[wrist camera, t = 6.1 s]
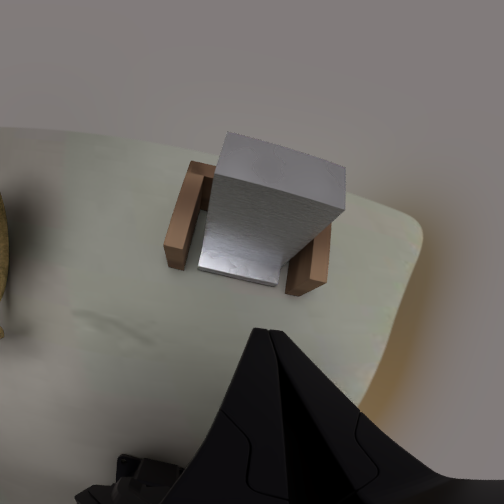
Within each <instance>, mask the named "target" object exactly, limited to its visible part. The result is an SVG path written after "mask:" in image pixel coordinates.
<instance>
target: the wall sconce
mask: <svg viewBox="0 0 504 504" xmlns="http://www.w3.org/2000/svg"><path fill="white" fill-rule="evenodd" d="M8 266H9V238H8V226H7V218H6V212H5V208H4V203H3V200H2V196H1V193H0V301H1V299H2V296H3V294H4V290H5V287H6V282H7V276H8ZM3 337H4V331H3V329H2V328H1V327H0V339H1V338H3Z"/></svg>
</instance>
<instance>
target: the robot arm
mask: <svg viewBox="0 0 504 504" xmlns="http://www.w3.org/2000/svg"><path fill="white" fill-rule="evenodd" d="M122 459H125V460H126V461H127V463H125V462H123V461H122ZM75 500H76V502H77V504H504V480H470V479H456V478H449V477H446V476H443V475H440V474H438V473H436V472H434V471H433V470H431V469H430V468H428V467H427V466H426V465H424V464H423V463H422V462H420V461H419V460H418V459H416V458H415V457H414V456H412V455H411V454H410V453H408V452H407V451H405V450H404V449H403V448H402V447H401V446H399V445H398V444H397V443H395V442H394V441H393V440H392V439H391V438H389V437H388V436H387V435H386V434H385V433H383V432H382V431H381V430H380V429H379V428H378V427H377V426H376V425H375V424H374V423H373V422H372V421H371V420H369V418H367V416H365V415H364V414H363V413H362V412H360V410H359V409H358V408H357V407H356V406H355V405H354V404H353V403H352V402H351V401H350V400H349V399H348V398H347V397H346V396H345V395H344V394H343V393H342V392H341V391H340V390H339V389H338V388H337V387H336V386H335V385H334V384H333V383H332V382H331V380H330V379H329V378H328V377H327V376H326V375H325V374H324V373H323V372H322V371H321V370H320V369H319V368H318V367H317V366H316V365H315V364H314V363H313V362H312V361H311V360H310V359H309V358H308V357H307V356H306V355H305V354H304V353H303V352H302V350H301V349H300V348H299V347H298V346H297V345H296V344H295V343H294V342H293V341H292V340H291V339H290V338H289V337H288V336H287V335H286V334H285V333H284V332H283V331H279V330H267V329H262V328H253V329H252V332H251V334H250V337H249V339H248V341H247V344H246V346H245V349H244V351H243V354H242V356H241V359H240V361H239V363H238V366H237V368H236V371H235V373H234V375H233V378H232V380H231V383H230V385H229V387H228V390H227V392H226V394H225V397H224V399H223V401H222V404H221V406H220V408H219V411H218V412H217V415H216V417H215V419H214V422H213V424H212V426H211V428H210V430H209V432H208V434H207V436H206V438H205V440H204V441H203V443H202V445H201V446H200V448H199V449H198V451H197V453H196V454H195V456H194V457H193V459H192V460H191V462H190V463H189V464H188V466H187V467H186V469H183V468H179V467H178V466H177V465H173V464H168V463H164V462H159V461H155V460H151V459H147V458H144V459H139V458H135V457H132V456H128V455H124V454H122V455H120V456H119V457H118V460H117V471H116V483H113V484H112V485H111V486H105V485H92V486H91V487H89V488H87V489H86V490H84V491H82V492H80V493H79V494H77V495H75Z"/></svg>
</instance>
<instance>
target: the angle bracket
mask: <svg viewBox="0 0 504 504" xmlns="http://www.w3.org/2000/svg"><path fill="white" fill-rule="evenodd" d="M345 175H346V170H345V167H343V166H341V165H338V164H335V163H332V162H329V161H327V160H324V159H321V158H318V157H315V156H312V155H309V154H306V153H302V152H299V151H296V150H293V149H290V148H286V147H283V146H280V145H276V144H273V143H269V142H266V141H262V140H259V139H255V138H251V137H247V136H243V135H239V134H236V133H232V132H227V134H226V137H225V141H224V144H223V147H222V150H221V153H220V156H219V160H218V163H217V166H216V169H215V173H214V178H213V184H212V189H211V195H210V201H209V207H208V213H207V220H206V226H205V232H204V239H203V246H202V251H201V255H200V260H199V264H198V270H203V271H207V272H211V273H215V274H220V275H224V276H228V277H233V278H237V279H242V280H246V281H250V282H255V283H259V284H264V285H269V286H273V287H274V286H276V285H277V284H278V280H279V274H280V268H281V267H282V266H283V265H284V264H286V263H287V262H288V261H289V260H290V259H291V258H292V257H294V256H295V255H296V254H297V253H298V252H299V251H300V250H301V249H303V248H304V247H305V246H306V245H307V244H308V243H309V242H310V241H312V240H313V239H314V238H315V237H316V236H317V235H318V234H319V233H320V232H322V231H323V230H324V229H325V228H326V227H327V226H328V225H329V224H330V223H331V222H333V221H334V220H335V219H336V218H337V217H338V216H339V215H340V214H341V213H342V212H344V211H345V192H346V189H345V186H346V184H345V183H346V181H345V180H346V176H345Z"/></svg>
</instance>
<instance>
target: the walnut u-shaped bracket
mask: <svg viewBox="0 0 504 504" xmlns="http://www.w3.org/2000/svg"><path fill="white" fill-rule="evenodd" d="M215 169H216V166H212V165H208V164H204V163H200V162H195V161H191V162H190V165H189V167H188V170H187V173H186V176H185V179H184V182H183V184H182V187H181V190H180V193H179V196H178V199H177V202H176V205H175V208H174V212H173V215H172V218H171V221H170V224H169V228H168V231H167V234H166V237H165V241H164V244H163V245H164V250H165V254H166V258H167V262H168V266H169V267H171V268H175V269H179V270H183V271H184V268H185V264H186V260H187V256H188V252H189V248H190V245H191V241H192V237H193V233H194V230H195V226H196V222H197V219H198V215H199V212H200V209H201V210H205V211H208V207H209V201H210V195H211V189H212V184H213V178H214V173H215ZM331 223H332V222H331ZM331 223H330V224H329V225H328V226H327V227H326V228H325V229H324V230H323V231H322V232H320V233H319V234H318V235H317V236H316V237H315V238H314V239H313V240H312V241H310V242H309V243H308V244H307V245H306V246H305V247H304V248H303V249H301V250H300V251H299V252H298V253H297V254H296V255H295V256H294V257H292V258H291V259H290V261H289V269H288V276H287V283H286V290H285V294H290V295H295V296H301V295H303V294H305V293H307V292H309V291H311V290H313V289H315V288H317V287H319V286H321V285H323V284H325V283H327V275H328V264H329V252H330V238H331Z"/></svg>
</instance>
